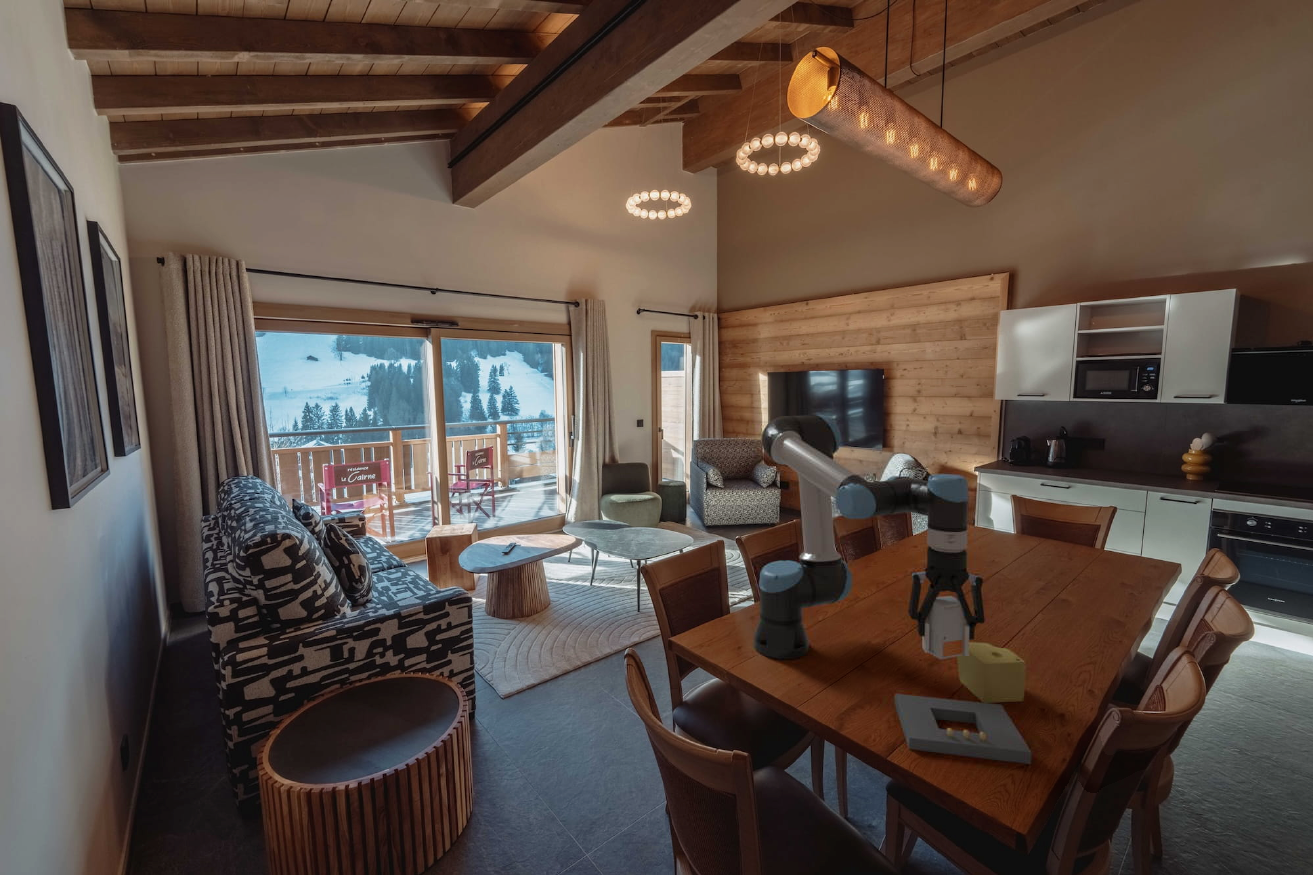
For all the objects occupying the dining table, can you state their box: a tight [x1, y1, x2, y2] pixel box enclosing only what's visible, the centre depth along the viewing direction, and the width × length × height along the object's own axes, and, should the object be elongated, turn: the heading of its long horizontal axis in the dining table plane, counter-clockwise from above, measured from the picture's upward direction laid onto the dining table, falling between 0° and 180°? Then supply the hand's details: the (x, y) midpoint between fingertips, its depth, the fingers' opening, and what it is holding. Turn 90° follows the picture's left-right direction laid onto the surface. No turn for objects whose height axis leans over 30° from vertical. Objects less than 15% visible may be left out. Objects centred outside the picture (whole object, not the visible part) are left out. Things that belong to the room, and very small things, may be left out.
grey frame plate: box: [894, 693, 1032, 765], centre depth 119 cm, size 22×16×4 cm
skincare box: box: [927, 595, 965, 660], centre depth 120 cm, size 6×4×12 cm
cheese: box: [957, 641, 1027, 704], centre depth 133 cm, size 10×11×10 cm
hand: (945, 651), depth 121 cm, fingers closed on skincare box, 7 cm apart
